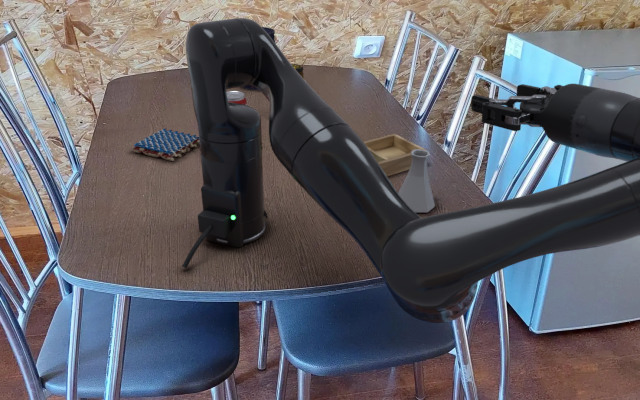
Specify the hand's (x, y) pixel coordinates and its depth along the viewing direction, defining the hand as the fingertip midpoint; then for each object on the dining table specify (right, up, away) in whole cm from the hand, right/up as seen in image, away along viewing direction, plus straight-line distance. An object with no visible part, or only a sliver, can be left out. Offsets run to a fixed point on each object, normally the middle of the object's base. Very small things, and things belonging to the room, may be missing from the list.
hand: (496, 96), depth 80 cm
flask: (-8, -16, +21) cm, 27 cm away
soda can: (-43, -4, +40) cm, 59 cm away
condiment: (-31, +6, +58) cm, 66 cm away
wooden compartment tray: (-14, -8, +34) cm, 38 cm away
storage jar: (-42, +18, +79) cm, 91 cm away
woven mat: (-57, -4, +40) cm, 70 cm away
